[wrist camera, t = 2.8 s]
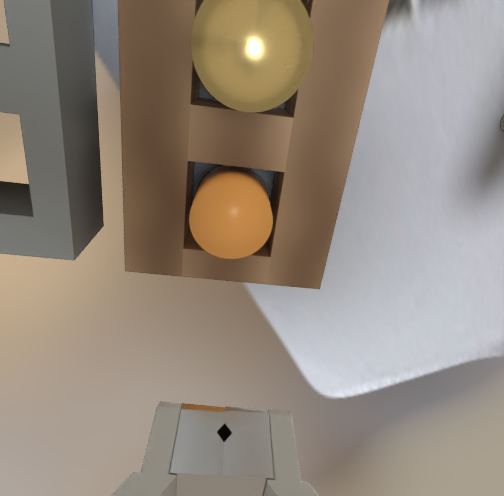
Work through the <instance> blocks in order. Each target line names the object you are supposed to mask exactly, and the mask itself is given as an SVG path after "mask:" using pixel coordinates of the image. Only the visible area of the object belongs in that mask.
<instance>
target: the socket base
mask: <svg viewBox="0 0 504 496" xmlns="http://www.w3.org/2000/svg"><path fill="white" fill-rule="evenodd" d="M203 1H204V0H118V26H119V64H120V100H121V137H122V173H123V174H122V176H123V208H124V209H123V213H124V250H125V271H129V272H139V273H150V274H161V275H172V276H183V277H193V278H204V279H215V280H226V281H237V282H247V283H258V284H269V285H280V286H291V287H301V288H312V289H320V286H321V282H322V278H323V273H324V269H325V265H326V261H327V257H328V252H329V248H330V244H331V240H332V236H333V232H334V227H335V223H336V219H337V215H338V211H339V207H340V202H341V198H342V194H343V190H344V186H345V182H346V177H347V173H348V169H349V165H350V161H351V156H352V152H353V148H354V144H355V140H356V136H357V131H358V127H359V123H360V119H361V115H362V111H363V106H364V102H365V98H366V94H367V90H368V86H369V81H370V77H371V73H372V69H373V65H374V60H375V56H376V52H377V48H378V44H379V40H380V35H381V31H382V27H383V23H384V19H385V15H386V10H387V6H388V2H389V0H301V2H302V3H303V5H304V7H305V9H306V11H307V13H308V16H309V18H310V22H311V26H312V31H313V55H312V60H311V64H310V67H309V70H308V73H307V75H306V77H305V79H304V81H303V83H302V84H301V86H300V87H299V89H298V90H297V91H296V92H295V93H294V94H293V95H292V96H291V97H290V98H289V99H288V100H287V101H286V107H285V109H278V108H273V109H270V110H267V111H263V112H254V113H251V112H242V111H237V110H235V109H232V108H229V107H227V106H226V105H224V104H222V103H221V102H219V101H217V100H209V99H202V98H199V81H200V78H199V76H198V74H197V72H196V69H195V66H194V62H193V58H192V51H191V35H192V28H193V23H194V20H195V17H196V14H197V12H198V10H199V8H200V6H201V4H202V2H203ZM195 162H202V163H211V164H220V165H228V166H237V167H245V168H254V169H262V170H271V171H276V172H275V178H274V185H273V191H272V198H271V204H270V206H271V211H272V216H273V225H272V230H271V233H270V236H269V238H268V239H267V241H266V242H265V244H264V245H263V246H262V247H261V248H260V249H259V250H258V251H256V252H255V253H253V254H251V255H249V256H246V257H243V258H238V259H225V258H220V257H217V256H214V255H212V254H210V253H208V252H207V251H205V250H204V249H203V248H202V247H201V246H200V245H199V244H198V243H197V242H196V240H195V239H194V237H193V235H192V233H191V229H190V224H189V215H190V210H191V207H192V201H193V184H194V167H195Z"/></svg>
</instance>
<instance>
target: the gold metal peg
mask: <svg viewBox="0 0 504 496" xmlns="http://www.w3.org/2000/svg"><path fill="white" fill-rule="evenodd" d="M191 51H192V58H193V62H194V66H195V69H196V72H197V74H198V76H199V78H200V80H201V82H202V83H203V85H204V86H205V88H206V89H207V90H208V92H209V93H210V94H211V95H212V96H213V97H214V98H215V99H217V100H218V101H219V102H221V103H222V104H224V105H226V106H227V107H229V108H232V109H235V110H237V111H242V112H251V113H254V112H263V111H267V110H270V109H273V108H275V107H277V106H279V105H281V104H282V103H284V102H285V101H287V100H288V99H289V98H290V97H291V96H292V95H293V94H294V93H295V92H296V91H297V90H298V89H299V87H300V86H301V84H302V83H303V81H304V79H305V77H306V75H307V73H308V70H309V67H310V64H311V60H312V55H313V31H312V26H311V22H310V18H309V16H308V13H307V11H306V9H305V7H304V5H303V3H302V2H301V0H204V1H203V2H202V4H201V6H200V8H199V10H198V12H197V14H196V17H195V20H194V23H193V28H192V35H191Z"/></svg>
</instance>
